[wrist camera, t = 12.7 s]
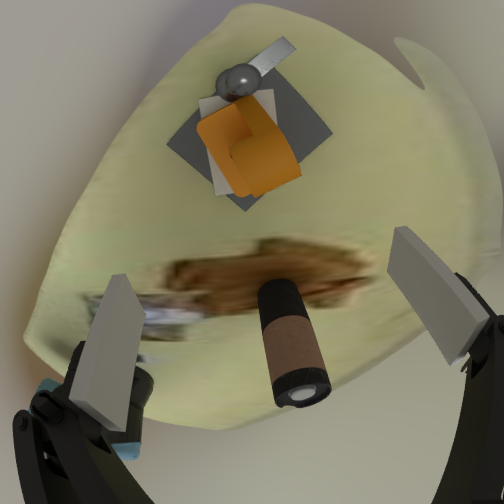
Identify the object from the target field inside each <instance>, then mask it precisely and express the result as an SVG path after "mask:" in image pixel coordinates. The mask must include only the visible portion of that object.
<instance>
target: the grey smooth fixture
mask: <svg viewBox="0 0 504 504" xmlns="http://www.w3.org/2000/svg"><path fill="white" fill-rule="evenodd" d="M295 50H296V48H295V47H294V46H293V45H292V44H291V43H290V42H289V41H288V40H287V39H286V38H285V37H284V36H282V37H280V38H279V39H278V40H276V41H275V42H274V43H273V44H271V45H270V46H269V47H267V48H266V49H265V50H264V51H262V52H261V53H260V54H259V55H257V56H256V57H255V58H254V59H253V60H251V61H250V62H249V63H248V64H238V65H236V66H234V67H232V68H231V69H228V70H225V71H224V72H222V73H221V74H220V75H219V77H218V79H217V81H216V91H217V93H218V95H219V96H220V97H221V98H222V99H223V100H225V101H227V102H234V101H236V100H238V99H240V98H242V97H244V96H248V95H251V94H253V93H255V92H256V91H257V90H258V89H259V88H260V86H261V83H262V76H264V75H265V74H266V73H267V72H268V71H270V70H271V69H272V68H273V67H274V66H276V65H277V64H278V63H279V62H281V61H282V60H283V59H284V58H286V57H287V56H288V55H290V54H291V53H292V52H293V51H295Z"/></svg>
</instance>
